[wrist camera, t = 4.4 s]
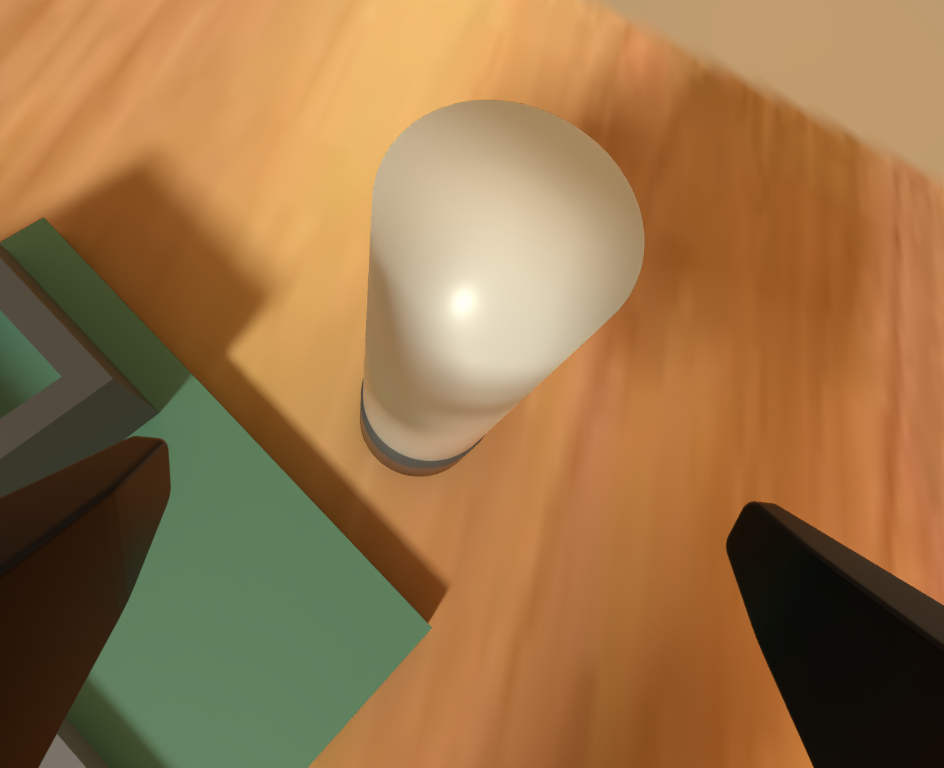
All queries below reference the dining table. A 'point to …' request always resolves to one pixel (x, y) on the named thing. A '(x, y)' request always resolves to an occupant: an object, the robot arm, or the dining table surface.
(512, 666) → the dining table surface
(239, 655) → the board
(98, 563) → the robot arm
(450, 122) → the white cylinder
